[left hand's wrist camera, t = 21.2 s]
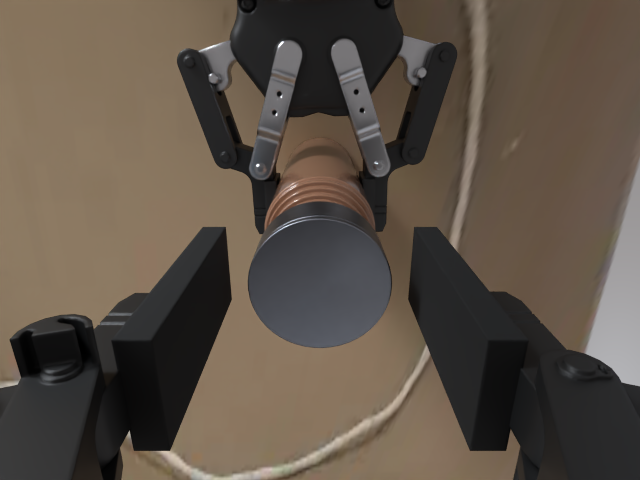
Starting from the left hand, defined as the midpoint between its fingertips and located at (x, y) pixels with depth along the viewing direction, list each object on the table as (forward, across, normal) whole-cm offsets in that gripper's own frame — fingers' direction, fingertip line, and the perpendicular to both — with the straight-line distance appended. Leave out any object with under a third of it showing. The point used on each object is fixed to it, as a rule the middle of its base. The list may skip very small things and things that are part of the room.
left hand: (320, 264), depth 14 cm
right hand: (+10, 0, -3) cm, 10 cm away
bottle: (+16, 0, 0) cm, 16 cm away
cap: (-1, 0, 0) cm, 1 cm away
